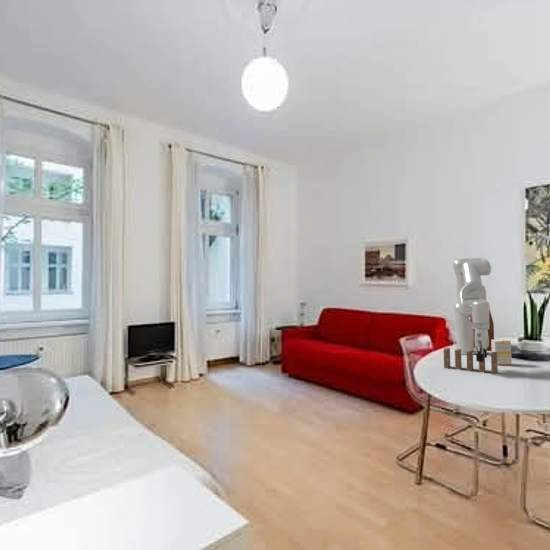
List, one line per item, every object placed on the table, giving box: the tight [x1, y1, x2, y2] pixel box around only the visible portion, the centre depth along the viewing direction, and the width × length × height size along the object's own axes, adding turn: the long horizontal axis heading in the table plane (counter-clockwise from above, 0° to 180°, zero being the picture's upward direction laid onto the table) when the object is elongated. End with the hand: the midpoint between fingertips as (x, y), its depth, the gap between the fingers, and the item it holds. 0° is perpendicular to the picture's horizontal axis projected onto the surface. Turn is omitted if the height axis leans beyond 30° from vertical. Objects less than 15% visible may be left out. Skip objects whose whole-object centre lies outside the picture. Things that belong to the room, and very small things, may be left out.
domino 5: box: [490, 351, 499, 375], centre depth 192 cm, size 2×5×10 cm, turn 143°
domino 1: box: [443, 347, 451, 369], centre depth 205 cm, size 2×5×10 cm, turn 143°
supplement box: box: [491, 339, 513, 366], centre depth 208 cm, size 8×5×13 cm, turn 84°
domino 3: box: [466, 350, 474, 372], centre depth 198 cm, size 2×5×10 cm, turn 143°
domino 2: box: [454, 349, 463, 370], centre depth 202 cm, size 2×5×10 cm, turn 143°
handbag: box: [469, 309, 495, 351], centre depth 254 cm, size 10×19×35 cm, turn 163°
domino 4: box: [478, 351, 486, 373], centre depth 195 cm, size 2×5×10 cm, turn 144°
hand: (481, 359), depth 195 cm, fingers open, 9 cm apart
